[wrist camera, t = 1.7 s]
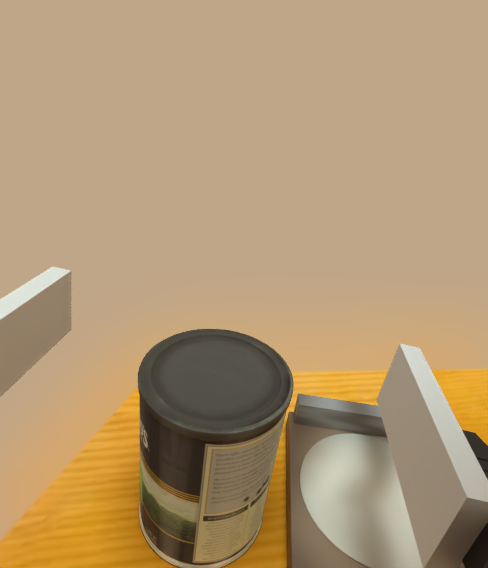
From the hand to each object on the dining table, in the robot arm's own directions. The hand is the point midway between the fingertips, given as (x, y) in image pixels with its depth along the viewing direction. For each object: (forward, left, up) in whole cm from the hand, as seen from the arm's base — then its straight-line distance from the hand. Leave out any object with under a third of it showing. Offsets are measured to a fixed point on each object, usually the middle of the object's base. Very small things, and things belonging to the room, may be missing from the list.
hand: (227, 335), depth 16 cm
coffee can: (+1, -8, -23) cm, 24 cm away
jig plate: (-13, -10, -22) cm, 28 cm away
